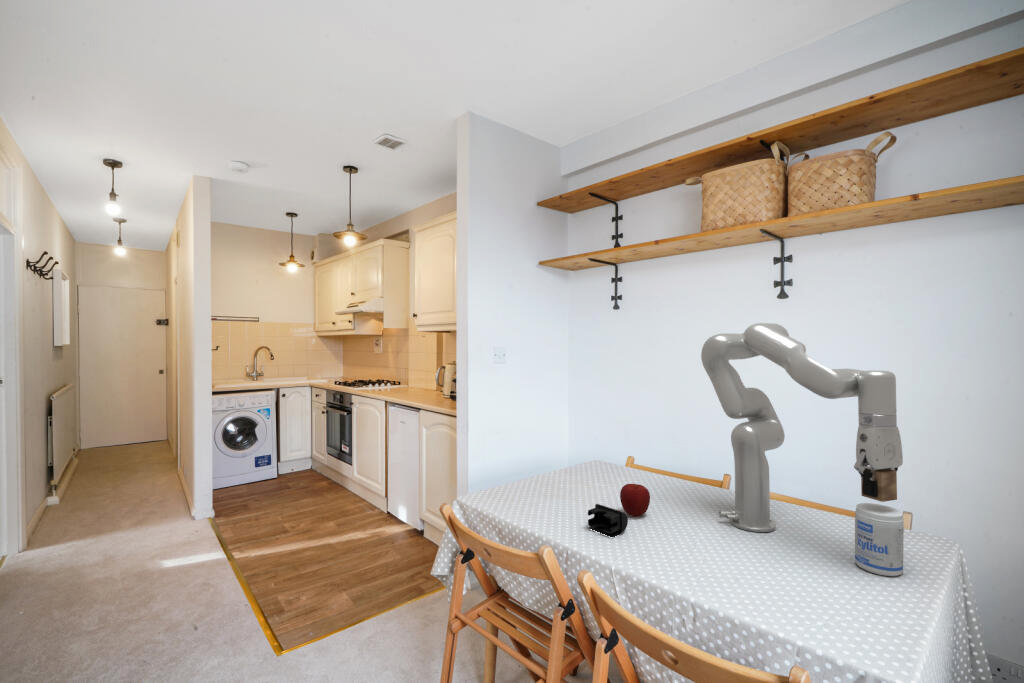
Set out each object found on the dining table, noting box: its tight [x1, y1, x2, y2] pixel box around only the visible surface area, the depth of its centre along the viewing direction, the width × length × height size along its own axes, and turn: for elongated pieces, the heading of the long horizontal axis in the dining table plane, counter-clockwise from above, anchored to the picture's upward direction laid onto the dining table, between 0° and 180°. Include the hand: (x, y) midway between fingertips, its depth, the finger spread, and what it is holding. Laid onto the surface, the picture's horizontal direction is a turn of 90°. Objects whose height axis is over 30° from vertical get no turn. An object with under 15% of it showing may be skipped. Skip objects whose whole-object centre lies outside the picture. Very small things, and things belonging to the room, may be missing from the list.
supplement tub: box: [854, 502, 905, 577], centre depth 118 cm, size 10×10×15 cm
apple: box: [619, 483, 651, 518], centre depth 156 cm, size 10×10×10 cm
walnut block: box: [860, 469, 898, 503], centre depth 118 cm, size 5×5×7 cm
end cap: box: [587, 503, 629, 538], centre depth 144 cm, size 10×7×7 cm
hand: (878, 493), depth 118 cm, fingers closed on walnut block, 5 cm apart
